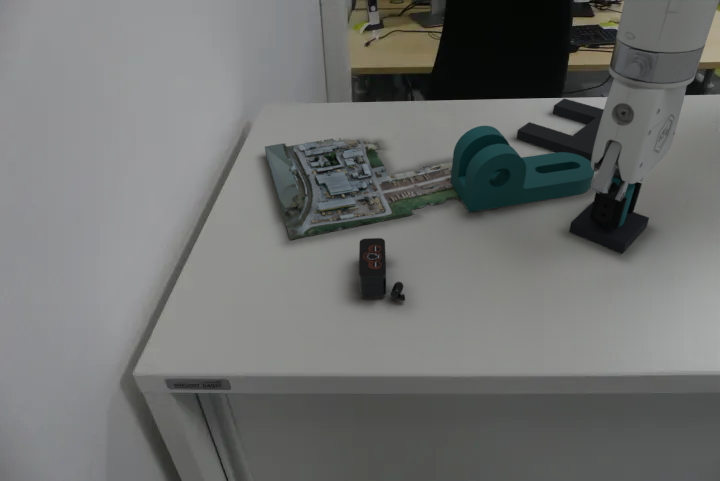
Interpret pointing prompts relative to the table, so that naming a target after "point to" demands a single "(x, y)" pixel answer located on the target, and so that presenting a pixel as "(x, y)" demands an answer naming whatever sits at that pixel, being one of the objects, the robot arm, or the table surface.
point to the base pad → (561, 141)
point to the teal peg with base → (607, 236)
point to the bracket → (512, 172)
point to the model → (348, 186)
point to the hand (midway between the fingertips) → (611, 214)
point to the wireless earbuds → (375, 270)
